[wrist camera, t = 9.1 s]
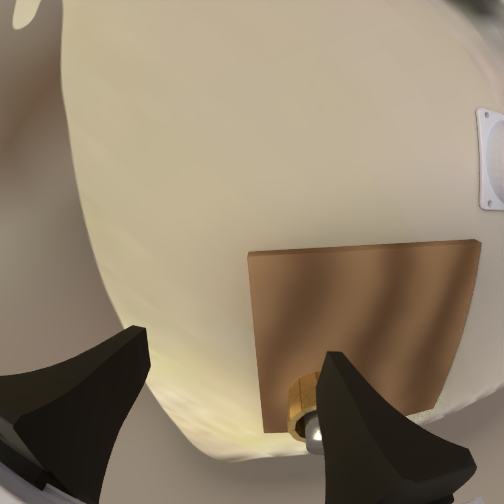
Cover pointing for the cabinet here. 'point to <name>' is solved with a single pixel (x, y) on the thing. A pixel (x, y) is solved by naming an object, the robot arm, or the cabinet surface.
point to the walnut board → (361, 317)
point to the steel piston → (313, 433)
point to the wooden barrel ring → (301, 404)
